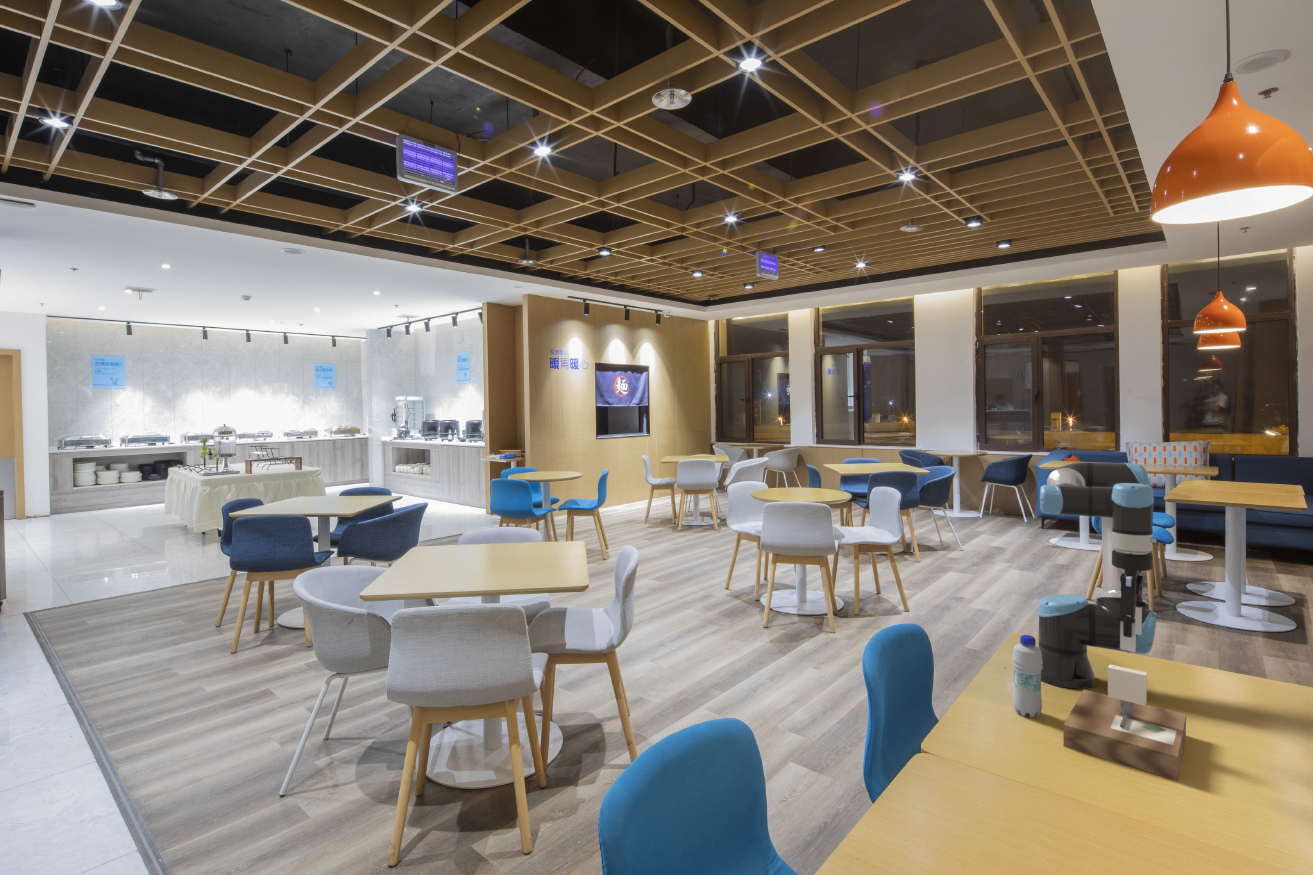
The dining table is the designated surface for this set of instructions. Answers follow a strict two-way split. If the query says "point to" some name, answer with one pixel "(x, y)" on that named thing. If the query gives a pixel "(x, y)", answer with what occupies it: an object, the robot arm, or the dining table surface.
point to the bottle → (1027, 677)
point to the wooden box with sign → (1127, 734)
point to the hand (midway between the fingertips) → (1131, 641)
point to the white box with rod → (1127, 689)
